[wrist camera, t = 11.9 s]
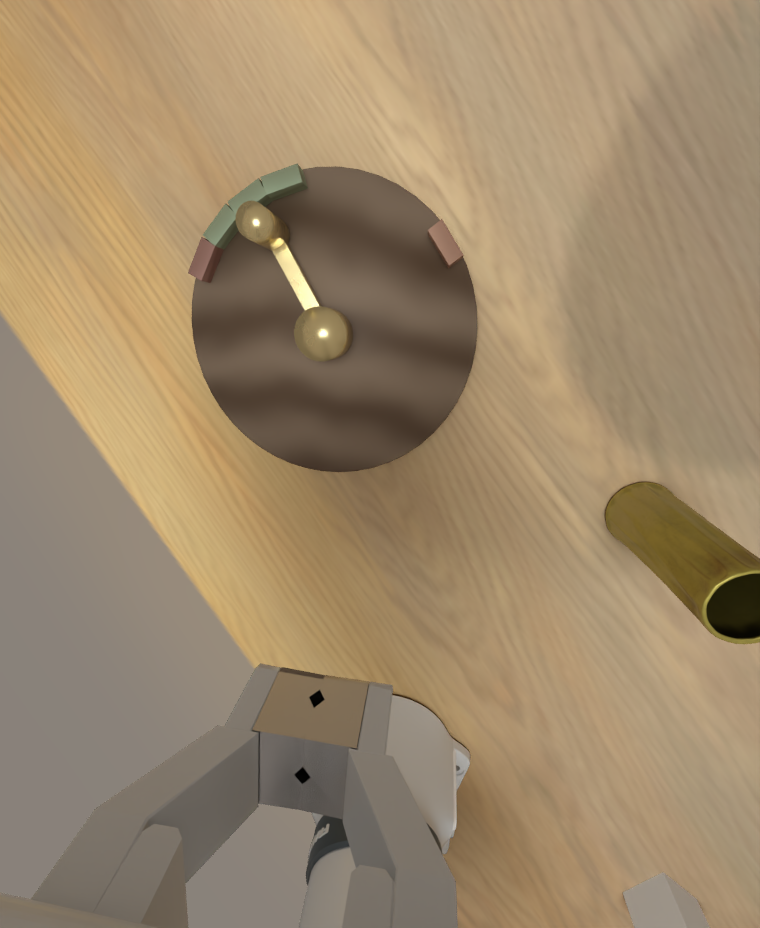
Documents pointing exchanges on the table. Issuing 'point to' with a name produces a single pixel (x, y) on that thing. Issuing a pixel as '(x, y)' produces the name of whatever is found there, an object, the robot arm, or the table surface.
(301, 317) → the brass dumbbell
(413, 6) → the table surface
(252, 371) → the dial base
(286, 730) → the robot arm
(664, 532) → the vase
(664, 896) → the light grey cube
